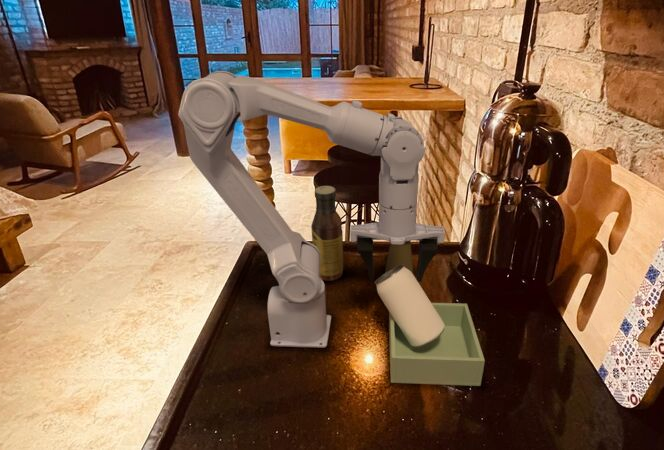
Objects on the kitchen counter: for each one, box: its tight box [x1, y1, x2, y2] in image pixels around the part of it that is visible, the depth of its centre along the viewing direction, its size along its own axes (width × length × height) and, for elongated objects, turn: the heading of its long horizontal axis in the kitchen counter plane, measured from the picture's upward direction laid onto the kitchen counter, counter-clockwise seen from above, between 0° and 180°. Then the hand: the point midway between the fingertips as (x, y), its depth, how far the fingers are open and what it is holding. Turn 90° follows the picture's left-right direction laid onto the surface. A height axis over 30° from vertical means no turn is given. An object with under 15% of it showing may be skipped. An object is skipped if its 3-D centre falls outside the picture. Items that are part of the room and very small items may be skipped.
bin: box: [388, 302, 486, 387], centre depth 65 cm, size 13×13×5 cm
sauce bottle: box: [310, 185, 344, 282], centre depth 83 cm, size 6×6×20 cm
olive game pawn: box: [384, 241, 414, 275], centre depth 85 cm, size 6×6×11 cm
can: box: [374, 264, 445, 347], centre depth 66 cm, size 6×6×12 cm
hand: (395, 278), depth 67 cm, fingers open, 7 cm apart
